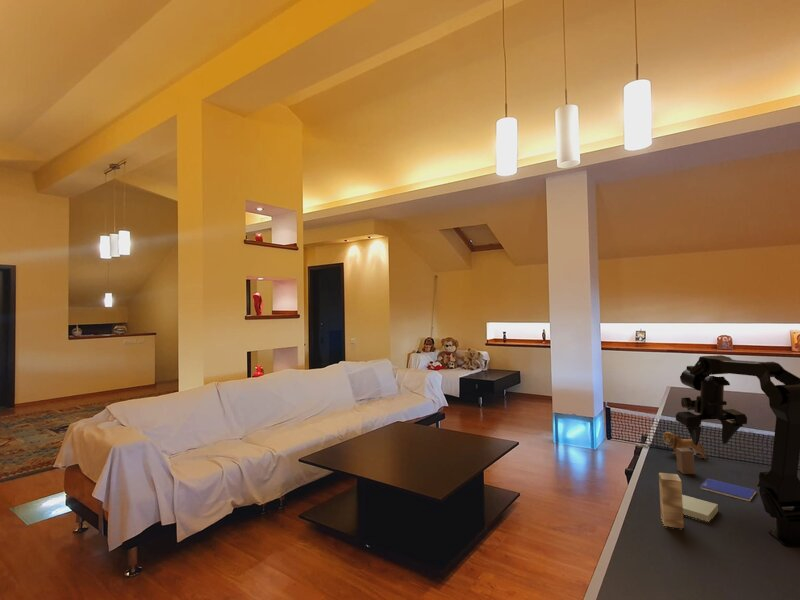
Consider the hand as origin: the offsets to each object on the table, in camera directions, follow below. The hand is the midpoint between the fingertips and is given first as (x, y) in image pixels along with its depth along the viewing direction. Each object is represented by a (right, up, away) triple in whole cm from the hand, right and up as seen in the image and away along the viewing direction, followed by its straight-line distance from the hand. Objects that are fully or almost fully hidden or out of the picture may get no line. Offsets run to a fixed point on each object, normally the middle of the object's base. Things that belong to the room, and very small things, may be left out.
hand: (709, 444), depth 131 cm
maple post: (-22, -16, -16) cm, 32 cm away
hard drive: (+7, -16, +2) cm, 18 cm away
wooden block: (+4, -16, +17) cm, 23 cm away
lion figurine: (+13, -15, +31) cm, 37 cm away
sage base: (-12, -17, -10) cm, 22 cm away
